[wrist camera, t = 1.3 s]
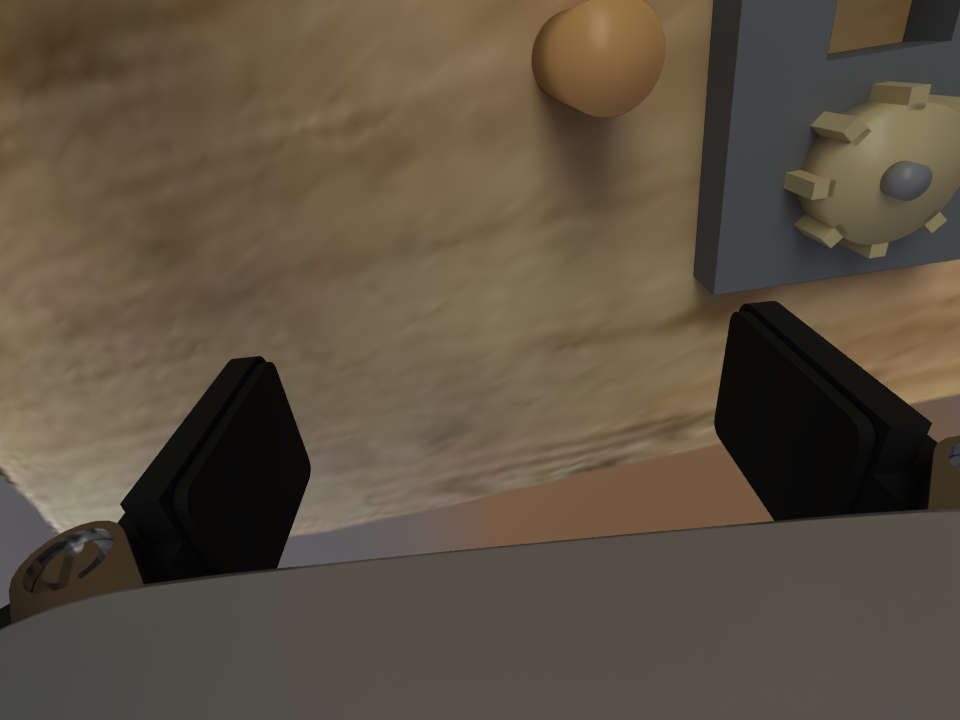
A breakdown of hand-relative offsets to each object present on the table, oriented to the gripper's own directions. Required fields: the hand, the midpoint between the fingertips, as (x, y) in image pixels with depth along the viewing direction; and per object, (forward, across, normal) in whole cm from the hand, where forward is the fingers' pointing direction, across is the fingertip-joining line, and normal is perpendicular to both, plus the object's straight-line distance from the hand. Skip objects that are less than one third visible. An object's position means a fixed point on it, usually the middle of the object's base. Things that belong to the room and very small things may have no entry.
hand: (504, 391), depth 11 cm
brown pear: (+21, -5, -6) cm, 23 cm away
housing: (+21, -19, -3) cm, 29 cm away
